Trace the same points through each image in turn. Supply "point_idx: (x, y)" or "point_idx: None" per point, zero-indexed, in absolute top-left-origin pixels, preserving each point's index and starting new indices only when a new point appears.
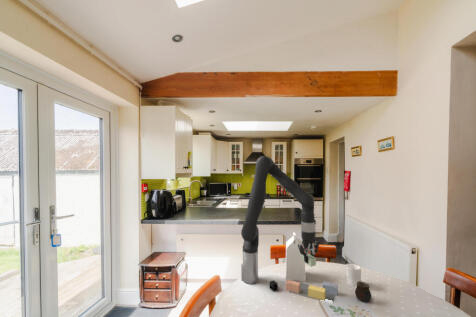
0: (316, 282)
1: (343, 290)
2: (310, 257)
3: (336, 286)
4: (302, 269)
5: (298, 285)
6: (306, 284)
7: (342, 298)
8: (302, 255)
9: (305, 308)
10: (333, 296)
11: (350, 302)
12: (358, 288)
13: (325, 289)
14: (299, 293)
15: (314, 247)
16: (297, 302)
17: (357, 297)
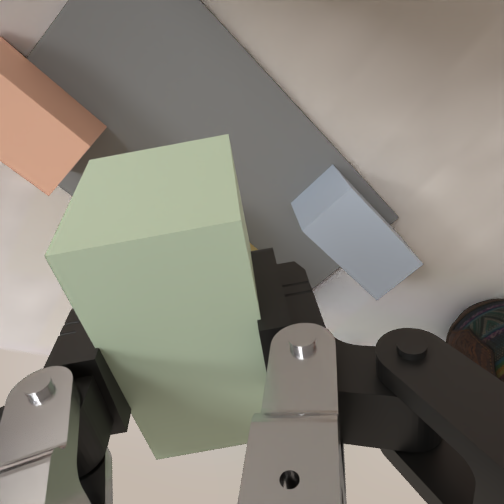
0: (360, 14)
1: (471, 207)
2: (182, 415)
3: (392, 281)
4: None
5: (49, 192)
6: (223, 39)
7: None
8: (66, 232)
9: (57, 325)
10: (326, 267)
11: (384, 328)
12: None
13: None
14: (77, 173)
15: (486, 452)
16: (21, 262)
17: (449, 338)
